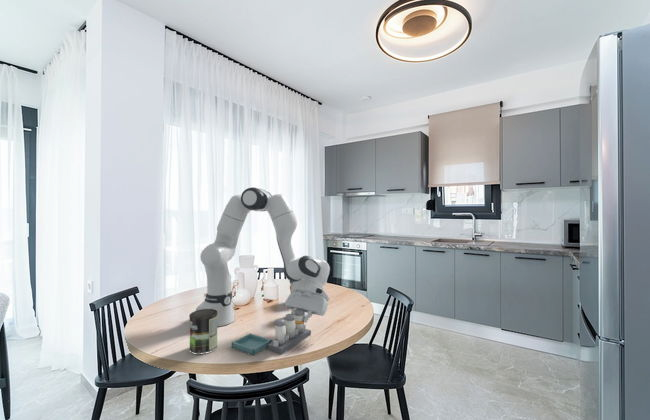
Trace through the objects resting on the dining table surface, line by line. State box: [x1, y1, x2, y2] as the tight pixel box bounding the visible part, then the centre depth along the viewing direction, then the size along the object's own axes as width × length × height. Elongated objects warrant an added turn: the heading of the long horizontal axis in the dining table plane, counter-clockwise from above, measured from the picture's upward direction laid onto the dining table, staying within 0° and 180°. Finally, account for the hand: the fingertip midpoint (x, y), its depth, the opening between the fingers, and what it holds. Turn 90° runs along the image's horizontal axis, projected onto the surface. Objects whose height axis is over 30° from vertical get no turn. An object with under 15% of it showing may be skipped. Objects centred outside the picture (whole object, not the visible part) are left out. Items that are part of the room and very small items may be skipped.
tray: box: [231, 333, 273, 356], centre depth 117 cm, size 12×10×2 cm
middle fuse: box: [285, 313, 295, 339], centre depth 121 cm, size 4×4×9 cm
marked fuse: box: [295, 309, 305, 333], centre depth 126 cm, size 4×4×9 cm
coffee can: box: [189, 309, 218, 354], centre depth 115 cm, size 10×10×14 cm
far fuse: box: [274, 318, 286, 346], centre depth 115 cm, size 4×4×9 cm
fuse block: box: [267, 324, 312, 355], centre depth 121 cm, size 7×20×4 cm, turn 149°
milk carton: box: [290, 279, 308, 317], centre depth 150 cm, size 7×7×19 cm
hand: (298, 320), depth 126 cm, fingers open, 4 cm apart
